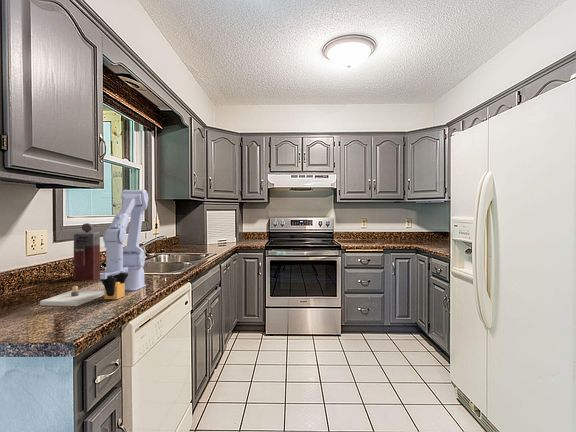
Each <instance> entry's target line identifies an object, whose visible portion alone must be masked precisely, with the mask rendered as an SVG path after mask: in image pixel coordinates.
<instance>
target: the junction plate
mask: <svg viewBox="0 0 576 432" xmlns="http://www.w3.org/2000/svg"><path fill="white" fill-rule="evenodd" d="M102 296H103V297H104V296H105V290H84V289H82V290H81V289H79V286H78V285H73V286H72V287H71V290H70V291H67V292H63V293H60V294H58V295H54V296H51V297H49V298H46V299H45V298H44V299H42V300H40V301H39V306H55V307H56V306H59V307H60V306H61V307H62V306H63V307H66V306H67V307H78V306H81V305H83V304H86V303H88V302H91V301H93V300H95V299H98V298H100V297H102Z"/></svg>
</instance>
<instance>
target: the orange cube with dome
mask: <svg viewBox="0 0 576 432" xmlns="http://www.w3.org/2000/svg"><path fill="white" fill-rule="evenodd" d="M104 291H105V295H104V300H119V299H121V298H123V297H125V296H126V293H125V291H126V290H125V283H120V282H116V283H115V289H114V295H113V296H107V293H106V290H105V289H104Z"/></svg>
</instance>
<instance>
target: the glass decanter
mask: <svg viewBox="0 0 576 432" xmlns="http://www.w3.org/2000/svg"><path fill="white" fill-rule="evenodd" d="M81 230H82V231H81V232H75V233H74V234H73V281H74V280H77V281H95V280H97V279H98V278H100V274H101V233H100V231H92V230H93V225H92V224H91V223H87V222H86V223H83V224H82V225H81Z"/></svg>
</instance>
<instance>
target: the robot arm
mask: <svg viewBox="0 0 576 432" xmlns="http://www.w3.org/2000/svg"><path fill="white" fill-rule="evenodd" d="M120 197H121V202H122V204H121V205H120V210H119V212H118V214H115V216H114V218H113V219H112V221H111V224H110V226H109V227H108V229H105V230H104V232H103V236H102V240H103V244H104V248H105V253H106V254H105V256H106V258H105V259H106V260H105V261H106V262H105V263H106V264H105V266H106V270H105V271H104V272H102V273H100V277H99V280H100V282H101V283H102V285H103V287H104V291H105V290H106V293H107V296H113V295H114V289H115V283H116V282H120V283H125V291H131V292H132V291H135V292H136V291H137V290H140V289H142V288H144V287H146V286H147V284H145V271H144V269H143V267H144V266H145V263H146V257H145V255H146V252H145V250H144V249H143V248H141V246H140V241H141V232H142V227H143V224H142V223H143V217H144V216H143V215H144V211H146V210H147V209H148V205H149V204H148V203H149V194H148V191H147V190H146V189H124V190H122V192H121V196H120ZM129 216H130V217H129ZM128 226H129V227H128ZM127 229H128V232H127ZM127 233H128V234H127ZM126 240H127V241H126ZM125 241H126V246H124V243H125Z"/></svg>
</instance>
